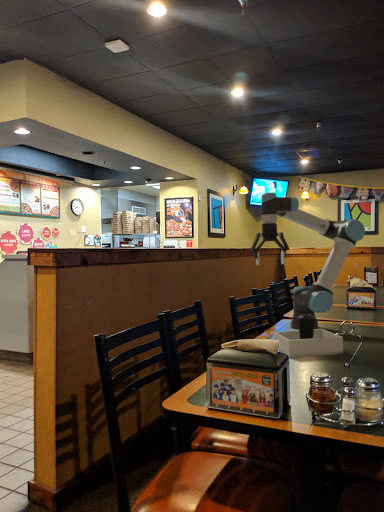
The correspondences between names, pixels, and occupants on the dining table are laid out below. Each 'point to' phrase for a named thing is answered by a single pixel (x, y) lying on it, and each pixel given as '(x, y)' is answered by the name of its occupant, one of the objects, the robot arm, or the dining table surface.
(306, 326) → the drinking cup
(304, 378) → the dining table surface
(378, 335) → the dining table surface
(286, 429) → the dining table surface
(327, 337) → the box
